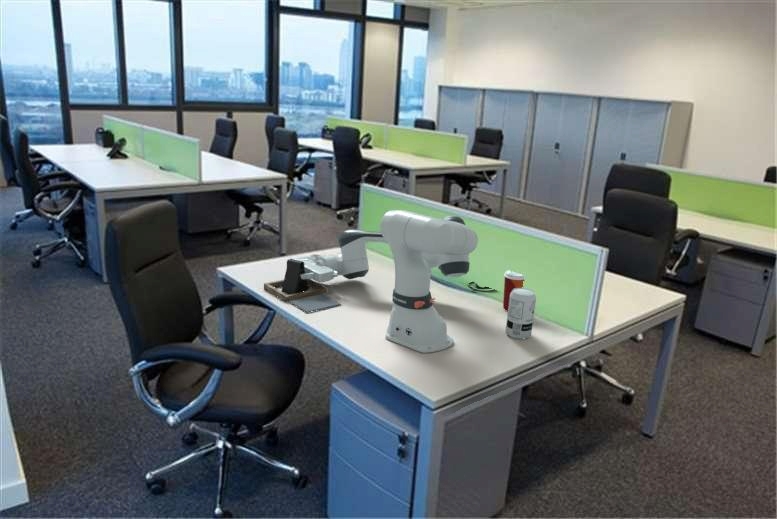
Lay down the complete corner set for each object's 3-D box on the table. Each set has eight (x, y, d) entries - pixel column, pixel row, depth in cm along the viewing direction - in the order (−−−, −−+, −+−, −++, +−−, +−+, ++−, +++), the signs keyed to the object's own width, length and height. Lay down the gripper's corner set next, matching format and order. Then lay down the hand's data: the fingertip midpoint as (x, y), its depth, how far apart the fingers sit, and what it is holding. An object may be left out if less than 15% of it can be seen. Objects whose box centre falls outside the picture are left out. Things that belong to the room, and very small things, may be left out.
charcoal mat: (340, 305, 210) (340, 303, 210) (307, 313, 201) (307, 311, 201) (322, 295, 218) (322, 293, 218) (289, 302, 210) (289, 300, 210)
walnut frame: (327, 293, 221) (327, 288, 220) (286, 302, 210) (286, 296, 209) (303, 280, 233) (303, 275, 232) (263, 288, 222) (263, 283, 221)
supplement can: (503, 329, 197) (508, 286, 193) (528, 330, 197) (533, 288, 192) (507, 339, 189) (512, 295, 185) (533, 340, 189) (539, 297, 185)
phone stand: (296, 286, 226) (296, 256, 223) (309, 289, 224) (309, 259, 220) (281, 292, 219) (281, 261, 215) (294, 296, 216) (294, 264, 213)
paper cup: (515, 315, 209) (520, 277, 205) (496, 309, 214) (500, 272, 210) (525, 309, 215) (530, 272, 211) (506, 303, 220) (510, 268, 216)
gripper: (340, 282, 221) (309, 289, 212) (311, 268, 236) (280, 273, 227) (341, 266, 219) (309, 272, 210) (311, 253, 234) (280, 258, 225)
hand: (294, 273), depth 219 cm, fingers open, 8 cm apart
